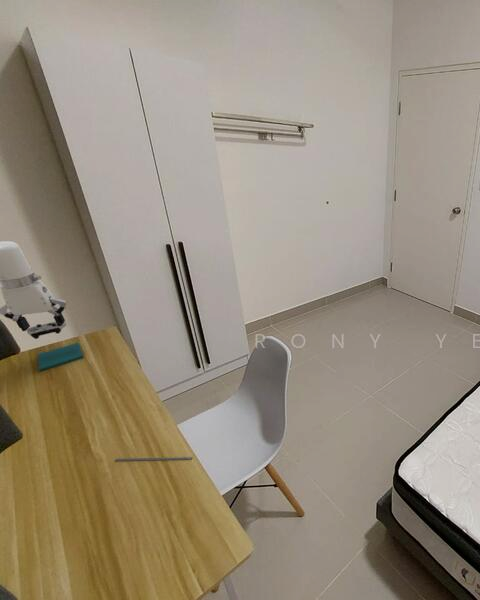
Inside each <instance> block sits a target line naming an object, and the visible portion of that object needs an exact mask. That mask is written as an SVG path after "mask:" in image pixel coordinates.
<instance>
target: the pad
mask: <svg viewBox="0 0 480 600" xmlns="http://www.w3.org/2000/svg"><path fill="white" fill-rule="evenodd" d="M36 355H37V363H38V370H39V371H40V372H43V371H46V370H50V369H52V368H56V367H58V366H63V365H65V364H68V363H72V362H75V361H78V360H81V359H84V355H83V352H82V349H81V345H80V343H79V342H75V343H72V344H68V345H65V346H60V347H57V348H55V349H51V350H48V351H44V352H40V353H37V354H36Z"/></svg>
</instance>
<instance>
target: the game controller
mask: <svg viewBox="0 0 480 600" xmlns="http://www.w3.org/2000/svg"><path fill="white" fill-rule="evenodd" d="M67 324H68V323H67V322H66V321H65V322H64V323H63V325H62V326H58V325H57V323H56V321H53V322H48V323H44V324H43V323H42V324H41V323H39V324H36V325H35V326H30V327H29V328H28V329H27V330H26V332H27V335H29V336H30V337H32V338H33V339H35V340H37V339H39V338H40V337H41V336H44V335H49V334H52V333H55V334H60V333H61V332H62V330H63V328H65V327H66V326H67Z"/></svg>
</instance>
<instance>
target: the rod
mask: <svg viewBox="0 0 480 600" xmlns="http://www.w3.org/2000/svg"><path fill="white" fill-rule="evenodd" d="M193 459H194V457H192V456H186V457H185V456H182V457H179V456H178V457H139V458H138V457H137V458H133V457H131V458H130V457H129V458H115V459H114V462H115V463H117V462H158V461H159V462H160V461H192V460H193Z"/></svg>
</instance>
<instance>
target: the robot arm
mask: <svg viewBox="0 0 480 600" xmlns="http://www.w3.org/2000/svg"><path fill="white" fill-rule="evenodd" d="M0 285H1V287H0V288H1V290H0V291H1V294H2V297H3V300H4V303H5V304H4V305H3V306H1V307H0V315H2V316H3V317H5V318H7V319H9V320H12V321H13V322H15V323H16V324H17V326H18V328H19V329H21V331H22V332H27V330H28V329H29V328H31V325H30V323H29V321H28V319H27V318H26V317H25V316H23V315H31V314H39V313H40V314H41V313H46V312H47V313H49V314H51V315H53V319H54V322H56V323H57V325H58V326H62V325H63V323H64V322H66V319H65V317H64V315H63V311H64V310H65V309H66V307H67V304H68V301H67V300H64V299H60V298H57V297H56V298H55V297H54V295H53V293H52V292H51V291H50V289H49V288H48V286H47V285H46V284H45V283H44V282H43V281H42V276H41V275H39V274H38V275H36V274H35V272H34V271H33V269H32V267H31V265H30V263H29V262H28V260H27V258H26V255H25V254H24V252H23V251H22V248H21V246H20V245H19V244H18V243H17V242H15V241H12V240H11V241H10V240H8V241H7V240H3V241H0ZM57 305H59V307H58V306H57Z"/></svg>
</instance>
